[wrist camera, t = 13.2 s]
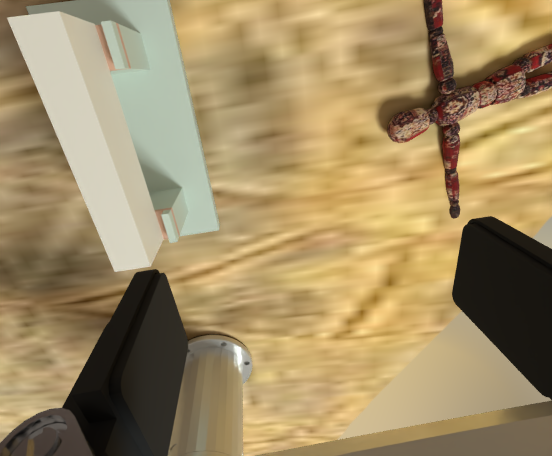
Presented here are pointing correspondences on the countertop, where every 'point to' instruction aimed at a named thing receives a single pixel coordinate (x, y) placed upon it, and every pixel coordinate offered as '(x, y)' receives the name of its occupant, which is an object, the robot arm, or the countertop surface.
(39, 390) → the countertop surface
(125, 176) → the cream rectangular beam
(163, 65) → the display stand
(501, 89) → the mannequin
